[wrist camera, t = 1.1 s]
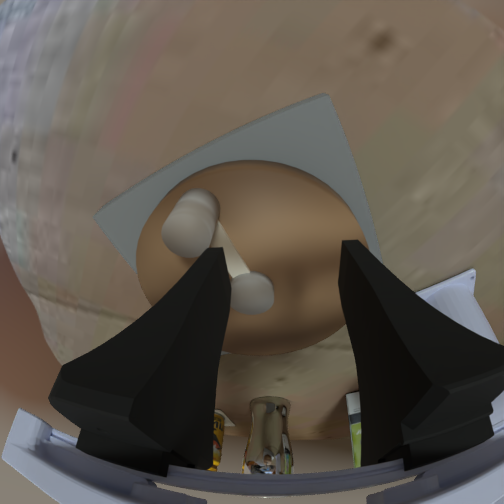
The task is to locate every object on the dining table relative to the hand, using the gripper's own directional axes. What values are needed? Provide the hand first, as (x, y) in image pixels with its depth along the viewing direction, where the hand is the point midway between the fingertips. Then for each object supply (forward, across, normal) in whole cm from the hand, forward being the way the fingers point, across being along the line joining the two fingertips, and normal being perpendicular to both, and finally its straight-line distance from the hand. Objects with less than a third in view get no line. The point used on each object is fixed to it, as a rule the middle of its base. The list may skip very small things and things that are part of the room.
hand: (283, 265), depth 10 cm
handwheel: (+7, +2, +6) cm, 10 cm away
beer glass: (+10, +3, +34) cm, 35 cm away
